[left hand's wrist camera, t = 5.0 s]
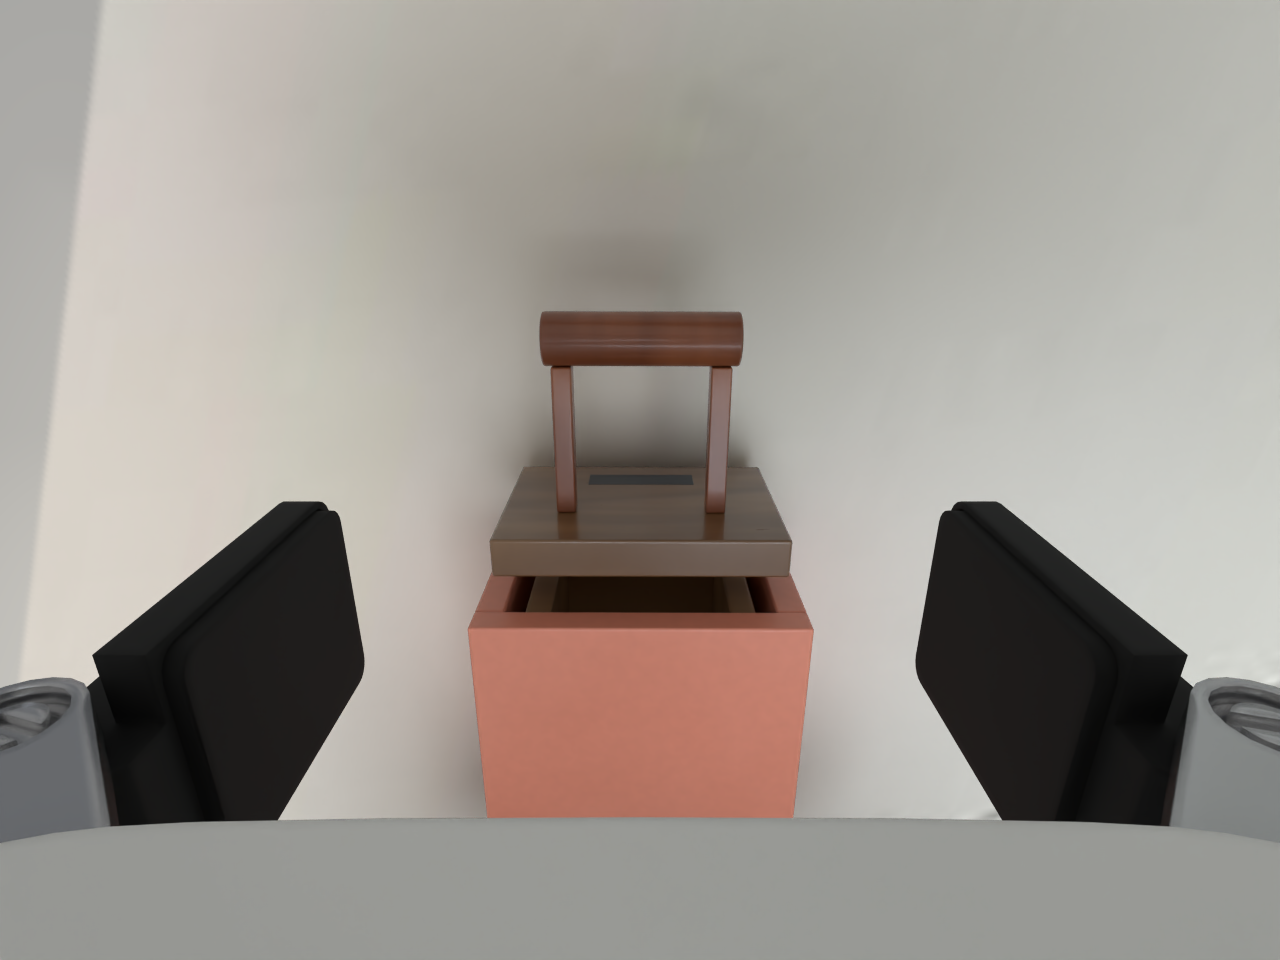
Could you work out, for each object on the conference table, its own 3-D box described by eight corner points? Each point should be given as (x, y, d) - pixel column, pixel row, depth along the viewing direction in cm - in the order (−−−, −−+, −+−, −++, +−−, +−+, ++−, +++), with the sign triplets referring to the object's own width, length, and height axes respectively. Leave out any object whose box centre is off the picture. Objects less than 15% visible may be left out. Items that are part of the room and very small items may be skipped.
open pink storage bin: (515, 512, 27) (466, 628, 19) (766, 513, 27) (814, 629, 19) (537, 830, 33) (506, 1011, 25) (742, 831, 33) (772, 1013, 25)
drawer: (512, 295, 23) (470, 323, 17) (770, 296, 23) (813, 324, 17) (543, 789, 31) (521, 920, 25) (736, 790, 31) (757, 921, 25)
